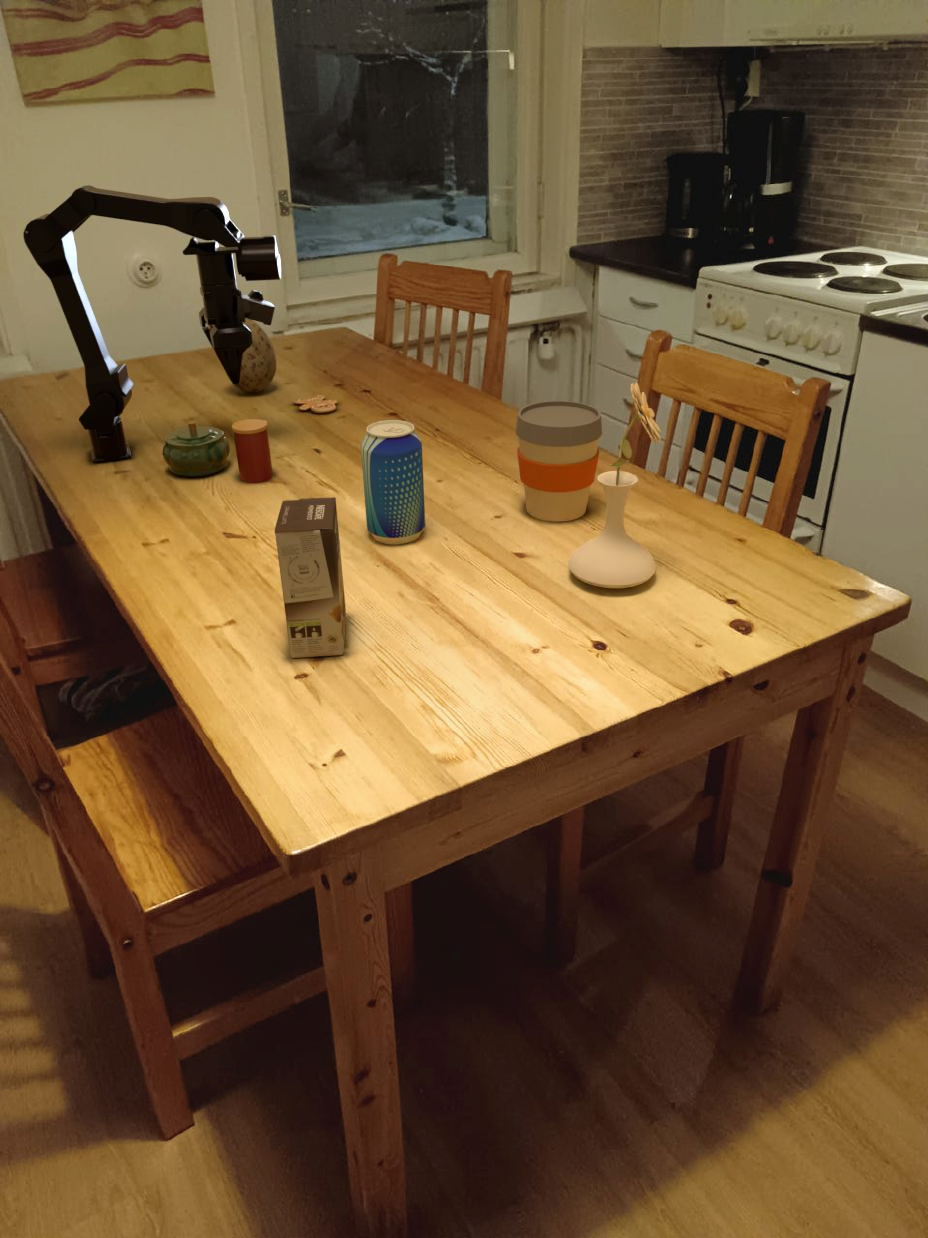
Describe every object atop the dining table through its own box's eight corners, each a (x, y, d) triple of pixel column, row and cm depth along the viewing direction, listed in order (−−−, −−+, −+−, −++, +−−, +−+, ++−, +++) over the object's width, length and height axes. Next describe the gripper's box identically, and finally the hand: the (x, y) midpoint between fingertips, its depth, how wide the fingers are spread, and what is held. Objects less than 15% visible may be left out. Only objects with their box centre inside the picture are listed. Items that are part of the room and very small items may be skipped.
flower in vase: (634, 605, 120) (650, 410, 107) (552, 583, 125) (558, 395, 112) (672, 564, 129) (691, 380, 117) (595, 545, 134) (605, 368, 122)
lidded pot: (163, 462, 166) (154, 417, 162) (227, 453, 169) (220, 408, 165) (169, 484, 157) (160, 437, 153) (237, 474, 160) (230, 428, 156)
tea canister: (245, 470, 162) (237, 418, 157) (277, 470, 161) (270, 419, 157) (235, 482, 157) (227, 430, 153) (268, 483, 157) (261, 430, 152)
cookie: (325, 392, 196) (347, 403, 189) (325, 396, 197) (347, 408, 189) (287, 399, 192) (309, 411, 185) (288, 404, 193) (309, 416, 185)
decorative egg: (254, 380, 208) (245, 309, 200) (290, 388, 202) (282, 316, 194) (216, 393, 200) (205, 320, 192) (252, 402, 195) (242, 327, 187)
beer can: (381, 551, 134) (373, 442, 126) (358, 529, 141) (350, 424, 133) (435, 538, 137) (431, 431, 129) (410, 517, 144) (405, 414, 136)
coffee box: (345, 655, 111) (333, 529, 103) (289, 659, 110) (273, 532, 102) (347, 616, 119) (336, 495, 111) (295, 619, 118) (280, 498, 110)
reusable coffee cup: (552, 486, 153) (554, 394, 146) (614, 508, 145) (621, 412, 138) (497, 510, 146) (497, 414, 138) (560, 534, 138) (564, 434, 130)
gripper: (278, 288, 151) (289, 385, 159) (257, 268, 167) (268, 358, 174) (206, 294, 148) (221, 393, 156) (192, 273, 163) (206, 365, 171)
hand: (231, 376), depth 165 cm, fingers open, 9 cm apart
